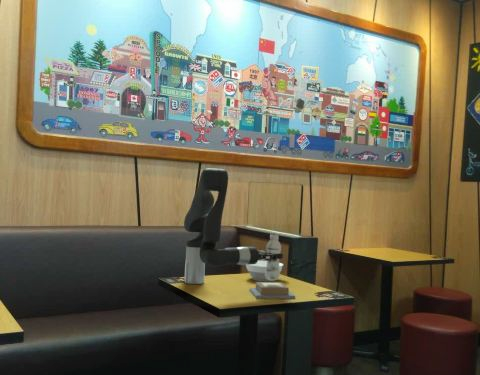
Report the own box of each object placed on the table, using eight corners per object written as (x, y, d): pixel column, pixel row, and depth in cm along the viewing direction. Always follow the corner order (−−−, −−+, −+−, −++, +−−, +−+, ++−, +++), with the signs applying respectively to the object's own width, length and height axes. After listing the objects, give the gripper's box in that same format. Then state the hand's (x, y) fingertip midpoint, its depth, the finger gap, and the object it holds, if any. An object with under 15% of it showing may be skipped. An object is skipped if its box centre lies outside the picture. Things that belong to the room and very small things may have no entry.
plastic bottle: (270, 278, 228) (272, 233, 229) (282, 280, 224) (284, 235, 224) (261, 279, 223) (263, 234, 224) (274, 282, 219) (276, 235, 219)
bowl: (268, 285, 246) (269, 267, 246) (236, 279, 257) (237, 262, 257) (289, 280, 261) (290, 264, 261) (258, 274, 273) (259, 259, 273)
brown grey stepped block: (256, 298, 215) (256, 288, 215) (249, 290, 230) (249, 280, 230) (295, 298, 218) (295, 288, 218) (285, 290, 233) (286, 281, 233)
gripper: (254, 248, 211) (287, 248, 219) (237, 244, 223) (269, 244, 231) (253, 267, 210) (286, 265, 219) (236, 262, 223) (268, 261, 231)
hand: (277, 255), depth 225 cm, fingers closed on plastic bottle, 6 cm apart
